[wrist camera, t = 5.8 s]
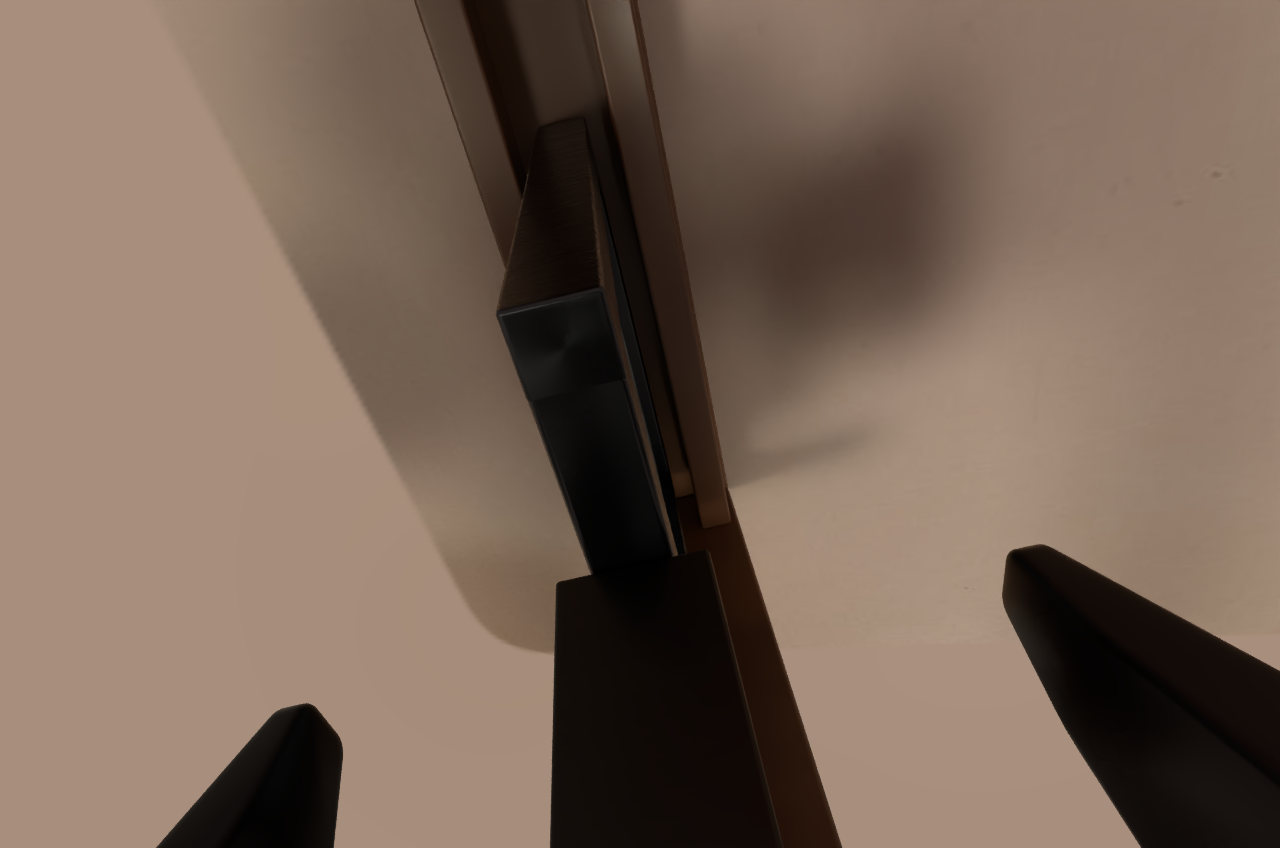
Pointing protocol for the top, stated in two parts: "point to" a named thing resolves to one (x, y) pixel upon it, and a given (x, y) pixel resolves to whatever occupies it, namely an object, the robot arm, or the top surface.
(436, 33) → the window frame
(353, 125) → the top surface
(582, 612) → the sash
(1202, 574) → the top surface
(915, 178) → the top surface
